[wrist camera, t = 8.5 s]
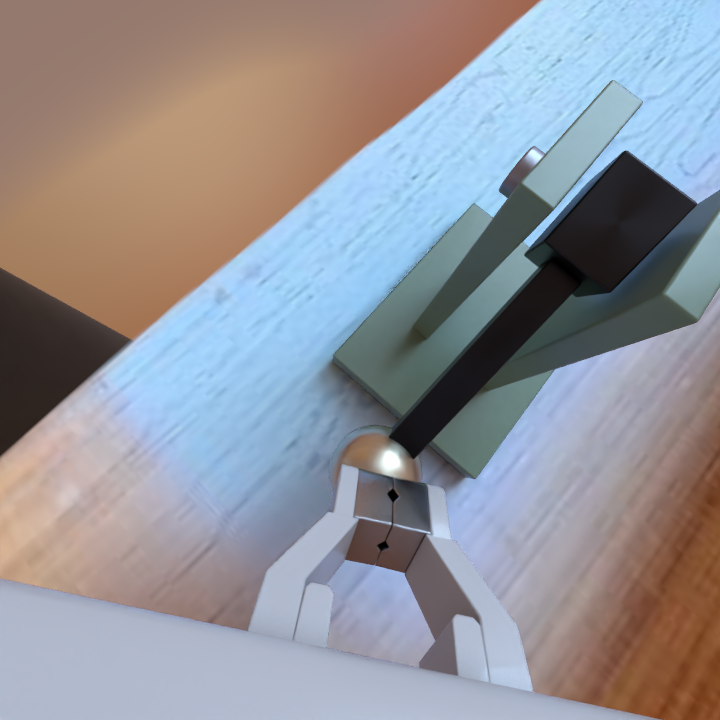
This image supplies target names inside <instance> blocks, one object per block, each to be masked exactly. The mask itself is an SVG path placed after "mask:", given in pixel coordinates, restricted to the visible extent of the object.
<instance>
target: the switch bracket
mask: <svg viewBox="0 0 720 720" xmlns="http://www.w3.org/2000/svg"><path fill="white" fill-rule="evenodd" d="M642 103H643V102H642V100H640V99H639V98H638V97H636V96H635V95H634V94H632V93H631V92H629V91H628V90H627V89H625V88H624V87H623V86H621V85H620V84H619V83H617V82H616V81H615V80H612V81H611V82H610V83H609V84H608V85H607V86H606V87H605V88H604V89H603V90H602V91H601V93H600V94H599V95H598V96H597V97H596V98H595V99H594V100H593V101H592V103H591V104H590V105H589V106H588V107H587V108H586V109H585V110H584V112H583V113H582V114H581V115H580V116H579V117H578V118H577V119H576V120H575V122H574V123H573V124H572V125H571V126H570V127H569V128H568V129H567V130H566V132H565V133H564V134H563V135H562V136H561V137H560V138H559V139H558V140H557V142H556V143H555V144H554V145H553V146H552V147H551V148H550V149H549V151H548V152H547V153H546V154H545V153H544V152H542V151H541V150H540V149H538V148H537V147H536V146H533V147H532V148H530V149H529V150H528V151H527V152H526V154H525V155H524V156H523V157H522V158H521V159H520V161H519V162H518V163H517V164H516V166H515V167H514V168H513V169H512V171H511V172H510V173H509V175H508V176H507V177H506V179H505V180H504V182H503V183H502V185H501V186H500V188H499V192H500V193H502V194H503V195H504V196H505V197H507V198H508V199H507V200H506V202H505V203H504V204H503V206H502V207H501V208H500V210H499V211H498V212H497V214H496V215H495V216H494V218H493V217H491V216H490V215H489V214H488V213H486V212H485V211H484V210H483V209H481V208H480V207H479V206H477V205H476V204H475V203H474V204H472V205H471V206H470V208H469V209H468V210H467V211H466V212H465V213H464V214H463V215H462V216H461V217H460V218H459V219H458V220H457V222H456V223H455V224H454V225H453V226H452V227H451V228H450V229H449V230H448V231H447V232H446V233H445V235H444V236H443V237H442V238H441V239H440V240H439V241H438V242H437V243H436V244H435V245H434V246H433V247H432V249H431V250H430V251H429V252H428V253H427V254H426V255H425V256H424V257H423V258H422V259H421V260H420V262H419V263H418V264H417V265H416V266H415V267H414V268H413V269H412V270H411V271H410V272H409V273H408V275H407V276H406V277H405V278H404V279H403V280H402V281H401V282H400V283H399V284H398V285H397V286H396V287H395V289H394V290H393V291H392V292H391V293H390V294H389V295H388V296H387V297H386V298H385V299H384V300H383V302H382V303H381V304H380V305H379V306H378V307H377V308H376V309H375V310H374V311H373V312H372V313H371V314H370V316H369V317H368V318H367V319H366V320H365V321H364V322H363V323H362V324H361V325H360V326H359V327H358V329H357V330H356V331H355V332H354V333H353V334H352V335H351V336H350V337H349V338H348V339H347V340H346V342H345V343H344V344H343V345H342V346H341V347H340V348H339V349H338V350H337V351H336V352H335V353H334V354H333V362H334V363H335V364H337V365H338V366H339V367H340V368H341V369H342V370H343V371H345V372H346V373H347V374H348V375H349V376H350V377H351V378H353V379H354V380H355V381H356V382H357V383H358V384H359V385H361V386H362V387H363V388H364V389H365V390H366V391H368V392H369V393H370V394H371V395H372V396H373V397H374V398H376V399H377V400H378V401H379V402H380V403H381V404H382V405H384V406H385V407H386V408H387V409H388V410H389V411H390V412H392V413H393V414H394V415H395V416H396V417H397V418H398V419H401V418H402V417H403V415H404V414H405V413H406V412H407V411H408V410H409V409H410V408H411V407H412V406H413V404H414V403H415V402H416V401H417V400H418V399H419V398H420V397H421V396H422V395H423V393H424V392H425V391H426V390H427V389H428V388H429V387H430V386H431V385H432V384H433V382H434V381H435V380H436V379H437V378H438V377H439V376H440V375H441V374H442V373H443V371H444V370H445V369H446V368H447V367H448V366H449V365H450V364H451V363H452V362H453V360H454V359H455V358H456V357H457V356H458V355H459V354H460V353H461V352H462V351H463V349H464V348H465V347H466V346H467V345H468V344H469V343H470V342H471V341H472V340H473V339H474V337H475V336H476V335H477V334H478V333H479V332H480V331H481V330H482V329H483V328H484V326H485V325H486V324H487V323H488V322H489V321H490V320H491V319H492V318H493V317H494V315H495V314H496V313H497V312H498V311H499V310H500V309H501V308H502V307H503V306H504V304H505V303H506V302H507V301H508V300H509V299H510V298H511V297H512V296H513V295H514V293H515V292H516V291H517V290H518V289H519V288H520V287H521V286H522V285H523V284H524V282H525V281H526V280H527V279H528V278H529V277H530V276H531V275H532V274H533V273H534V272H535V270H536V269H537V268H538V267H537V266H536V265H535V264H534V263H532V262H531V261H530V260H529V259H527V258H526V257H525V256H524V254H525V252H526V251H527V250H528V249H529V248H530V247H529V246H528V245H526V244H525V243H524V242H523V241H524V240H525V239H526V238H527V237H528V236H529V235H530V234H531V233H532V232H533V231H534V230H535V229H536V228H537V226H538V225H539V224H540V223H541V222H542V221H543V220H544V219H545V218H546V217H547V216H548V215H549V214H550V213H551V212H552V211H553V210H554V209H555V208H556V207H557V205H558V204H559V203H560V202H561V201H562V199H563V198H564V197H565V196H566V195H567V193H568V192H569V191H570V190H571V189H572V188H573V186H574V185H575V184H576V183H577V182H578V180H579V179H580V178H581V177H582V176H583V174H584V173H585V172H586V171H587V170H588V168H589V167H590V166H591V165H592V164H593V162H594V161H595V160H596V159H597V158H598V157H599V155H600V154H601V153H602V152H603V151H604V149H605V148H606V147H607V146H608V145H609V143H610V142H611V141H612V140H613V139H614V137H615V136H616V135H617V134H618V133H619V131H620V130H621V129H622V128H623V127H624V125H625V124H626V123H627V122H628V121H629V120H630V118H631V117H632V116H633V115H634V114H635V112H636V111H637V110H638V109H639V108H640V106H641V105H642ZM719 287H720V190H719V191H717V192H716V193H714V194H713V195H711V196H710V197H708V198H707V199H705V200H703V201H702V202H700V203H699V204H697V205H696V207H695V208H694V209H693V210H692V211H691V212H690V213H689V214H688V215H687V216H686V217H685V218H684V219H683V220H682V221H681V222H680V223H679V224H678V225H677V226H676V227H675V228H674V229H673V230H672V231H671V232H670V233H669V234H668V235H667V236H666V237H665V238H664V239H663V240H662V241H661V242H660V243H659V244H658V245H657V246H656V247H655V248H654V249H653V250H652V251H651V252H650V253H649V254H648V256H647V257H646V258H645V259H644V260H643V261H642V262H641V263H640V264H639V265H638V266H637V267H636V268H635V269H634V270H633V271H632V272H631V273H630V274H629V275H628V276H627V277H626V278H625V279H624V280H623V281H622V282H621V283H620V284H619V285H618V286H617V287H616V288H615V289H614V290H613V291H612V292H611V293H607V294H599V295H591V296H583V297H575V296H574V295H572V294H571V296H570V297H569V298H568V299H567V300H566V301H565V302H564V303H563V304H562V305H561V306H560V307H559V308H558V309H557V310H556V311H555V312H554V313H553V314H552V315H551V316H550V318H549V319H548V320H547V321H546V322H545V323H544V324H543V325H542V326H541V327H540V328H539V329H538V330H537V331H536V332H535V333H534V334H533V335H532V336H531V337H530V338H529V340H528V341H527V342H526V343H525V344H524V345H523V346H522V347H521V348H520V349H519V350H518V351H517V352H516V353H515V354H514V355H513V356H512V357H511V358H510V359H509V360H508V362H507V363H506V364H505V365H504V366H503V367H502V368H501V369H500V370H499V371H498V372H497V373H496V374H495V375H494V376H493V377H492V378H491V379H490V380H489V381H488V382H487V384H486V385H485V386H484V387H483V388H482V389H481V390H480V391H479V392H478V393H477V394H476V395H475V396H474V397H473V398H472V399H471V400H470V401H469V402H468V403H467V404H466V406H465V407H464V408H463V409H462V410H461V411H460V412H459V413H458V414H457V415H456V416H455V417H454V418H453V419H452V420H451V421H450V422H449V423H448V424H447V425H446V426H445V428H444V429H443V430H442V431H441V432H440V433H439V434H438V435H437V436H436V437H435V438H434V439H433V440H432V441H431V442H430V443H429V444H428V445H429V446H431V447H432V448H433V449H434V450H435V451H436V452H437V453H439V454H440V455H441V456H442V457H443V458H444V459H445V460H447V461H448V462H449V463H450V464H451V465H452V466H454V467H455V468H456V469H457V470H458V471H459V472H460V473H462V474H463V475H464V476H465V477H467V478H472V479H476V478H477V477H478V475H479V474H480V472H481V471H482V470H483V468H484V467H485V465H486V464H487V463H488V461H489V460H490V459H491V457H492V456H493V454H494V453H495V452H496V450H497V449H498V447H499V446H500V445H501V443H502V442H503V440H504V439H505V438H506V436H507V435H508V434H509V432H510V431H511V429H512V428H513V427H514V425H515V424H516V422H517V421H518V420H519V418H520V417H521V416H522V414H523V413H524V411H525V410H526V409H527V407H528V406H529V404H530V403H531V402H532V400H533V399H534V398H535V396H536V395H537V393H538V392H539V391H540V389H541V388H542V386H543V385H544V384H545V382H546V381H547V380H548V378H549V377H550V375H551V374H552V373H553V371H554V370H555V369H557V368H560V367H563V366H566V365H569V364H572V363H575V362H578V361H581V360H584V359H587V358H591V357H594V356H597V355H600V354H603V353H606V352H609V351H612V350H615V349H618V348H621V347H624V346H627V345H630V344H633V343H636V342H639V341H642V340H645V339H648V338H651V337H654V336H657V335H660V334H664V333H667V332H670V331H673V330H676V329H679V328H682V327H685V326H688V325H691V324H694V323H696V322H698V321H699V319H700V318H701V316H702V315H703V313H704V311H705V310H706V308H707V307H708V305H709V303H710V302H711V300H712V299H713V297H714V295H715V294H716V292H717V291H718V289H719Z"/></svg>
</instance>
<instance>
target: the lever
mask: <svg viewBox="0 0 720 720" xmlns="http://www.w3.org/2000/svg"><path fill="white" fill-rule="evenodd" d="M696 205H697V203H696V202H695V201H694V200H692V199H691V198H690V197H688V196H687V195H686V194H684V193H683V192H682V191H680V190H679V189H678V188H677V187H675V186H674V185H673V184H671V183H670V182H669V181H667V180H666V179H665V178H663V177H662V176H661V175H659V174H658V173H657V172H655V171H654V170H653V169H651V168H650V167H649V166H647V165H646V164H645V163H643V162H642V161H641V160H639V159H638V158H637V157H635V156H634V155H633V154H631V153H630V152H629V151H624V152H622V153H621V154H620V155H619V156H618V157H617V158H615V159H614V160H613V161H612V162H611V163H610V164H609V165H607V166H606V167H605V168H604V169H603V170H602V171H601V172H599V173H598V174H597V175H596V176H595V177H594V178H593V179H591V180H590V181H589V182H588V183H587V184H586V185H585V186H584V187H583V188H582V189H581V191H580V192H579V193H578V194H577V195H576V196H575V197H574V198H573V200H572V201H571V202H570V203H569V204H568V205H567V206H566V207H565V209H564V210H563V211H562V212H561V213H560V214H559V215H558V216H557V218H556V219H555V220H554V221H553V222H552V223H551V224H550V225H549V227H548V228H547V229H546V230H545V231H544V232H543V233H542V234H541V236H540V237H539V238H538V239H537V240H536V241H535V242H534V243H533V244H532V246H531V247H530V248H529V249H528V250H527V251H526V252H525V254H524V256H525V257H526V258H527V259H529V260H530V261H531V262H532V263H534V264H535V265H536V266H537V267H538V268H537V269H536V270H535V272H534V273H533V274H532V275H531V276H530V277H529V278H528V279H527V280H526V281H525V282H524V284H523V285H522V286H521V287H520V288H519V289H518V290H517V291H516V292H515V293H514V295H513V296H512V297H511V298H510V299H509V300H508V301H507V302H506V303H505V304H504V306H503V307H502V308H501V309H500V310H499V311H498V312H497V313H496V314H495V315H494V317H493V318H492V319H491V320H490V321H489V322H488V323H487V324H486V325H485V326H484V328H483V329H482V330H481V331H480V332H479V333H478V334H477V335H476V336H475V337H474V339H473V340H472V341H471V342H470V343H469V344H468V345H467V346H466V347H465V348H464V349H463V351H462V352H461V353H460V354H459V355H458V356H457V357H456V358H455V359H454V360H453V362H452V363H451V364H450V365H449V366H448V367H447V368H446V369H445V370H444V371H443V373H442V374H441V375H440V376H439V377H438V378H437V379H436V380H435V381H434V382H433V384H432V385H431V386H430V387H429V388H428V389H427V390H426V391H425V392H424V393H423V395H422V396H421V397H420V398H419V399H418V400H417V401H416V402H415V403H414V404H413V406H412V407H411V408H410V409H409V410H408V411H407V412H406V413H405V414H404V415H403V417H402V418H401V419H400V420H399V421H398V422H397V423H396V424H395V425H394V426H393V427H392V428H389V427H386V426H380V425H370V426H365V427H361V428H359V429H356V430H354V431H352V432H351V433H349V434H348V435H347V436H346V437H344V438H343V439H342V440H341V441H340V443H339V444H338V445H337V447H336V449H335V451H334V453H333V455H332V458H331V462H330V466H329V480H330V486H331V489H332V492H333V491H334V487H335V484H336V480H337V477H338V474H339V470H340V467H341V465H342V464H344V465H348V466H352V467H356V468H358V469H359V468H361V469H365V470H369V471H372V472H376V473H380V474H384V475H388V476H394V477H398V478H403V479H407V480H412V481H416V482H421V483H422V465H421V461H420V457H419V454H420V453H421V452H422V451H423V450H424V449H425V447H426V446H427V445H428V444H429V443H430V442H431V441H432V440H433V439H434V438H435V437H436V436H437V435H438V434H439V433H440V432H441V431H442V430H443V429H444V428H445V426H446V425H447V424H448V423H449V422H450V421H451V420H452V419H453V418H454V417H455V416H456V415H457V414H458V413H459V412H460V411H461V410H462V409H463V408H464V407H465V406H466V404H467V403H468V402H469V401H470V400H471V399H472V398H473V397H474V396H475V395H476V394H477V393H478V392H479V391H480V390H481V389H482V388H483V387H484V386H485V385H486V384H487V382H488V381H489V380H490V379H491V378H492V377H493V376H494V375H495V374H496V373H497V372H498V371H499V370H500V369H501V368H502V367H503V366H504V365H505V364H506V363H507V362H508V360H509V359H510V358H511V357H512V356H513V355H514V354H515V353H516V352H517V351H518V350H519V349H520V348H521V347H522V346H523V345H524V344H525V343H526V342H527V341H528V340H529V338H530V337H531V336H532V335H533V334H534V333H535V332H536V331H537V330H538V329H539V328H540V327H541V326H542V325H543V324H544V323H545V322H546V321H547V320H548V319H549V318H550V316H551V315H552V314H553V313H554V312H555V311H556V310H557V309H558V308H559V307H560V306H561V305H562V304H563V303H564V302H565V301H566V300H567V299H568V298H569V297H570V296H571V294H572V295H574V296H575V297H583V296H591V295H599V294H607V293H611V292H612V291H613V290H614V289H615V288H616V287H617V286H618V285H619V284H620V283H621V282H622V281H623V280H624V279H625V278H626V277H627V276H628V275H629V274H630V273H631V272H632V271H633V270H634V269H635V268H636V267H637V266H638V265H639V264H640V263H641V262H642V261H643V260H644V259H645V258H646V257H647V256H648V254H649V253H650V252H651V251H652V250H653V249H654V248H655V247H656V246H657V245H658V244H659V243H660V242H661V241H662V240H663V239H664V238H665V237H666V236H667V235H668V234H669V233H670V232H671V231H672V230H673V229H674V228H675V227H676V226H677V225H678V224H679V223H680V222H681V221H682V220H683V219H684V218H685V217H686V216H687V215H688V214H689V213H690V212H691V211H692V210H693V209H694V208H695V207H696Z"/></svg>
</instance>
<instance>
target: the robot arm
mask: <svg viewBox="0 0 720 720" xmlns="http://www.w3.org/2000/svg"><path fill="white" fill-rule="evenodd" d="M344 560H350V561H355V562H360V563H365V564H370V565H375V566H379V567H383V568H387V569H391V570H395V571H399V572H403V573H405V576H406V579H407V581H408V583H409V585H410V587H411V589H412V592H413V594H414V596H415V598H416V600H417V602H418V604H419V607H420V609H421V611H422V613H423V615H424V617H425V620H426V622H427V624H428V626H429V628H430V630H431V632H432V635H433V637H434V639H435V642H434V644H433V645H432V646H431V648H430V649H429V650H428V652H427V653H426V654H425V656H424V657H423V658H422V660H421V661H420V662H419V668H418V667H413V666H409V665H404V664H399V663H395V662H390V661H385V660H381V659H376V658H371V657H367V656H362V655H357V654H353V653H348V652H343V651H338V650H334V649H329V648H327V641H328V634H329V626H330V619H331V612H332V604H333V597H334V592H333V591H332V589H331V588H330V587H329V586H328V585H326V584H327V583H328V581H329V580H330V579H331V578H332V576H333V575H334V574H335V572H336V571H337V570H338V569H339V567H340V566H341V565H342V564H343V562H344ZM0 720H661V719H657V718H652V717H647V716H642V715H638V714H633V713H628V712H624V711H619V710H614V709H610V708H605V707H600V706H596V705H591V704H586V703H582V702H577V701H572V700H568V699H563V698H558V697H554V696H549V695H544V694H540V693H535V692H534V690H533V686H532V682H531V678H530V674H529V670H528V666H527V662H526V658H525V654H524V650H523V646H522V642H521V638H520V633H519V629H518V626H517V624H516V623H515V622H514V620H513V619H512V617H511V616H510V615H509V613H508V612H507V611H506V609H505V608H504V606H503V605H502V604H501V602H500V601H499V599H498V598H497V597H496V595H495V594H494V592H493V591H492V590H491V588H490V587H489V585H488V584H487V583H486V581H485V580H484V578H483V577H482V576H481V574H480V573H479V571H478V570H477V569H476V567H475V566H474V564H473V563H472V562H471V560H470V559H469V558H468V556H467V555H466V553H465V552H464V551H463V549H462V548H461V546H460V545H459V544H458V542H457V541H455V540H451V532H450V525H449V518H448V511H447V504H446V497H445V491H444V489H443V487H438V486H434V485H429V484H425V483H421V482H416V481H412V480H407V479H403V478H398V477H394V476H388V475H384V474H380V473H376V472H372V471H369V470H365V469H361V468H359V469H358V468H356V467H352V466H348V465H344V464H342V465H341V467H340V470H339V474H338V477H337V480H336V484H335V487H334V491H333V495H332V499H331V503H330V507H329V512H327V513H326V514H325V515H324V516H323V517H322V518H320V519H319V520H318V521H317V522H316V523H315V524H314V525H313V526H312V527H311V528H310V529H309V530H308V531H307V532H306V533H305V534H304V535H303V536H302V537H301V538H300V539H298V540H297V541H296V542H295V543H294V544H293V545H292V546H291V547H290V548H289V549H288V550H287V551H286V552H285V553H284V554H283V555H282V556H281V557H280V558H279V559H277V560H276V561H275V562H274V563H273V564H272V565H271V566H270V567H269V568H268V569H267V570H266V573H265V576H264V579H263V582H262V585H261V589H260V592H259V595H258V598H257V601H256V604H255V607H254V611H253V614H252V617H251V620H250V623H249V626H248V629H247V631H245V630H240V629H235V628H231V627H226V626H221V625H217V624H212V623H207V622H202V621H198V620H193V619H188V618H184V617H179V616H174V615H170V614H165V613H160V612H156V611H151V610H146V609H142V608H137V607H132V606H127V605H123V604H118V603H113V602H109V601H104V600H99V599H95V598H90V597H85V596H81V595H76V594H71V593H66V592H62V591H57V590H52V589H48V588H43V587H38V586H34V585H29V584H24V583H20V582H15V581H10V580H5V579H1V578H0Z"/></svg>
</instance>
